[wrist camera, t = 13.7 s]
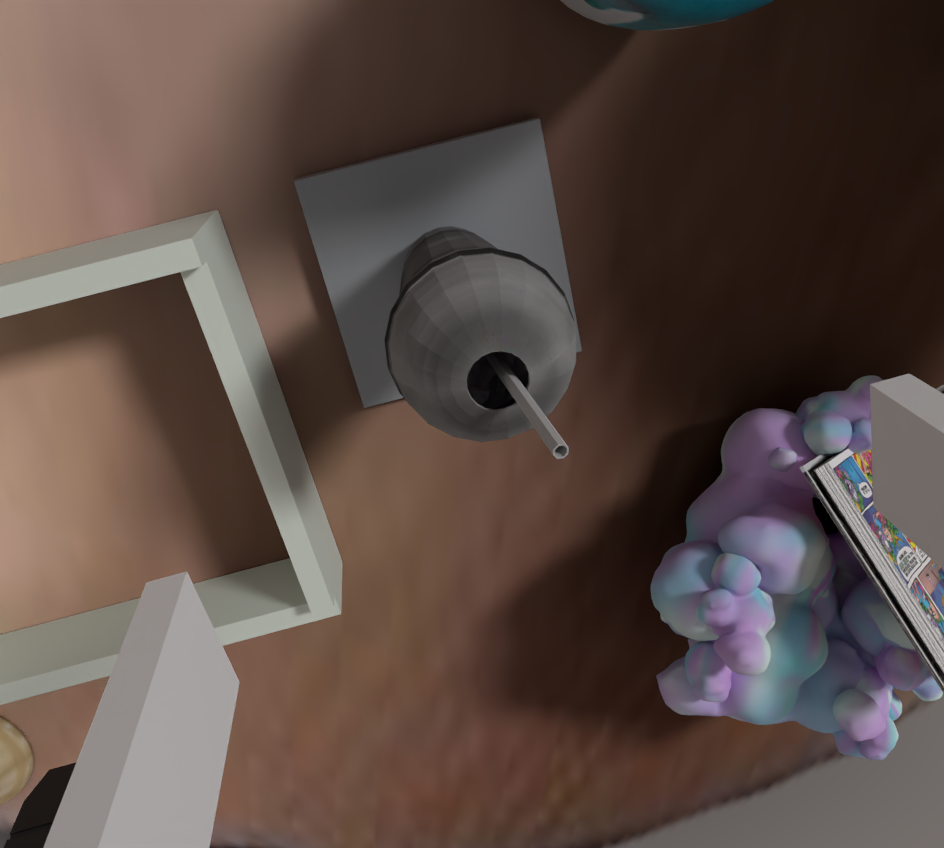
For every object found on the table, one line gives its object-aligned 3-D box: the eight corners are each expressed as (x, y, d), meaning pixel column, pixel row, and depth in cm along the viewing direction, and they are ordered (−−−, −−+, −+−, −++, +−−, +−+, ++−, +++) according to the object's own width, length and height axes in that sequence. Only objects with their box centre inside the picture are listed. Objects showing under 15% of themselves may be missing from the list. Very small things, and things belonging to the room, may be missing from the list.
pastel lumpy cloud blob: (555, 672, 48) (823, 938, 37) (685, 327, 40) (1089, 533, 28) (747, 597, 61) (989, 776, 50) (877, 326, 53) (1207, 466, 41)
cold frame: (-232, 323, 40) (-344, 374, 33) (217, 209, 40) (191, 238, 34) (-25, 659, 49) (-82, 750, 42) (342, 562, 49) (340, 637, 43)
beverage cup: (407, 173, 40) (455, 275, 22) (543, 230, 42) (692, 368, 24) (354, 311, 42) (358, 508, 24) (485, 359, 44) (580, 574, 26)
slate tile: (294, 178, 40) (293, 181, 39) (535, 117, 40) (540, 118, 40) (363, 400, 45) (364, 408, 44) (577, 345, 45) (582, 351, 45)
